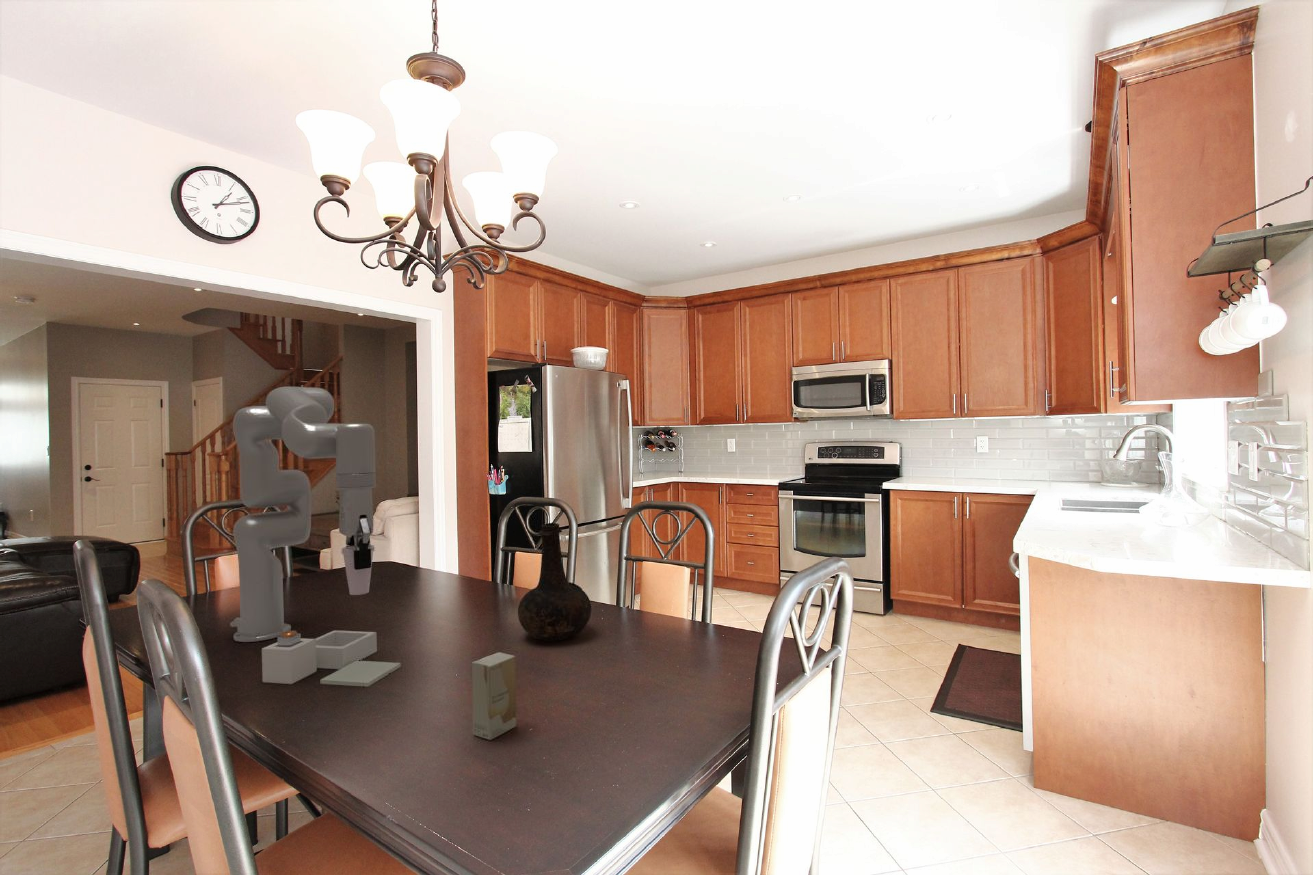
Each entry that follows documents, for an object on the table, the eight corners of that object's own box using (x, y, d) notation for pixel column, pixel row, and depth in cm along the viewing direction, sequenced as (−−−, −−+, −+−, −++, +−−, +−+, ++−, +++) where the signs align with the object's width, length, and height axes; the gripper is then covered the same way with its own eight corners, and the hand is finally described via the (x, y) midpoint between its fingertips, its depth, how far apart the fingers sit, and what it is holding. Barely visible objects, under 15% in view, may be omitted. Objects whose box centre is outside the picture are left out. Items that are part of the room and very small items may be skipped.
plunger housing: (262, 682, 130) (261, 648, 130) (288, 669, 137) (288, 637, 137) (291, 683, 128) (290, 650, 128) (316, 671, 135) (315, 638, 135)
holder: (298, 666, 138) (297, 646, 138) (334, 649, 149) (334, 630, 149) (343, 669, 136) (342, 648, 136) (376, 651, 147) (376, 632, 147)
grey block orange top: (278, 665, 131) (277, 634, 131) (289, 660, 134) (288, 630, 134) (290, 666, 131) (289, 635, 131) (301, 661, 134) (300, 630, 134)
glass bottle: (606, 633, 156) (603, 521, 156) (550, 653, 143) (547, 531, 143) (559, 620, 168) (556, 517, 168) (503, 638, 154) (500, 525, 154)
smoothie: (346, 598, 128) (344, 530, 128) (339, 592, 133) (337, 527, 133) (379, 592, 132) (377, 526, 132) (371, 587, 137) (369, 523, 137)
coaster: (320, 683, 128) (320, 679, 128) (356, 664, 139) (356, 660, 139) (367, 686, 126) (367, 682, 126) (400, 666, 137) (400, 662, 137)
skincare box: (490, 741, 102) (488, 666, 102) (471, 735, 104) (469, 662, 104) (518, 725, 107) (516, 654, 107) (500, 719, 110) (498, 650, 110)
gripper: (328, 480, 137) (330, 562, 137) (346, 485, 123) (348, 575, 123) (365, 478, 141) (367, 557, 142) (386, 482, 128) (388, 569, 128)
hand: (358, 565), depth 132 cm, fingers closed on smoothie, 6 cm apart
